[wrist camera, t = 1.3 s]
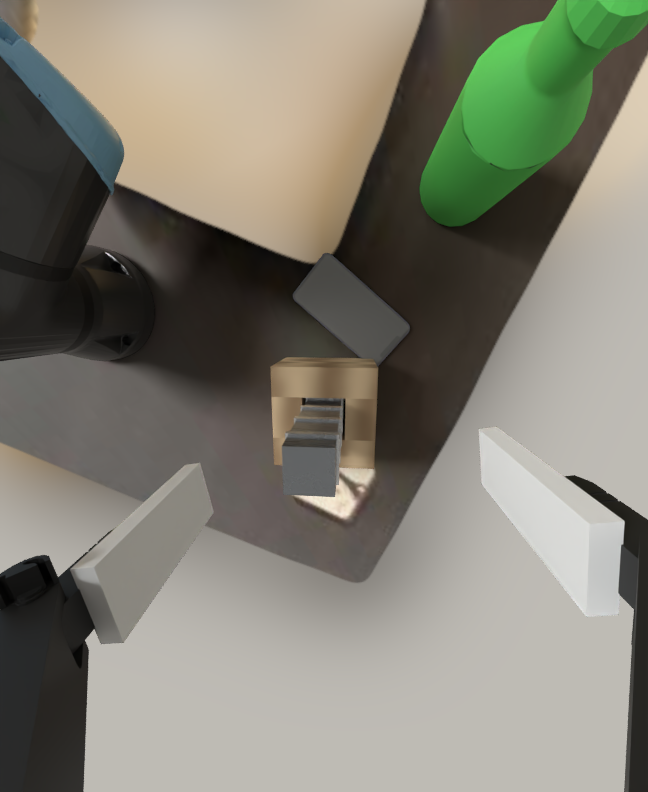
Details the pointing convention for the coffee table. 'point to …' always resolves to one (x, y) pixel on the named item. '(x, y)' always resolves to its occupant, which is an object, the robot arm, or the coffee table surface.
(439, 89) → the coffee table surface
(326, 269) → the smartphone
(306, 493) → the column
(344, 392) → the housing
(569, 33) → the bottle
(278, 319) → the coffee table surface
